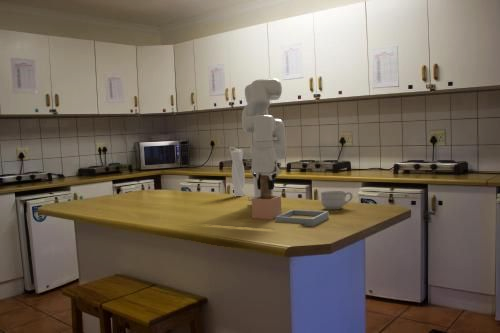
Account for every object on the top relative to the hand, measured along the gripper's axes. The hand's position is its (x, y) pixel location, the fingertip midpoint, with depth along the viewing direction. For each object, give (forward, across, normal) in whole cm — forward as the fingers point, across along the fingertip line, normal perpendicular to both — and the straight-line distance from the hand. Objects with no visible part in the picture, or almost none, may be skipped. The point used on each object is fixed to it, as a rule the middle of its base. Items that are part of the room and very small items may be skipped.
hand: (265, 188), depth 197 cm
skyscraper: (+14, -47, +54) cm, 72 cm away
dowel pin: (+9, 0, 0) cm, 9 cm away
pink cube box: (+13, 0, 0) cm, 13 cm away
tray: (+13, +16, 0) cm, 21 cm away
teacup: (+13, +20, +28) cm, 37 cm away
